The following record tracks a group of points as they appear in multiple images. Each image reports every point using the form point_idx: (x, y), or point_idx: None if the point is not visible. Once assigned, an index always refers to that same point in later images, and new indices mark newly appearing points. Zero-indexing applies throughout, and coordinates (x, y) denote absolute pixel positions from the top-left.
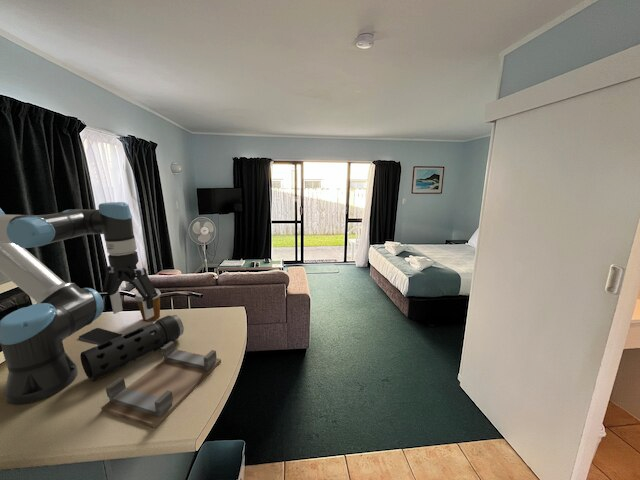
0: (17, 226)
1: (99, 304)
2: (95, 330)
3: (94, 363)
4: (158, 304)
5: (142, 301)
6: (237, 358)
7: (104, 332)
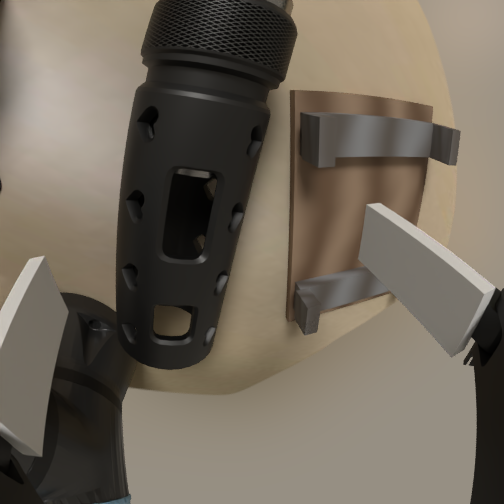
0: None
1: None
2: None
3: (212, 342)
4: None
5: (447, 350)
6: (447, 87)
7: None
